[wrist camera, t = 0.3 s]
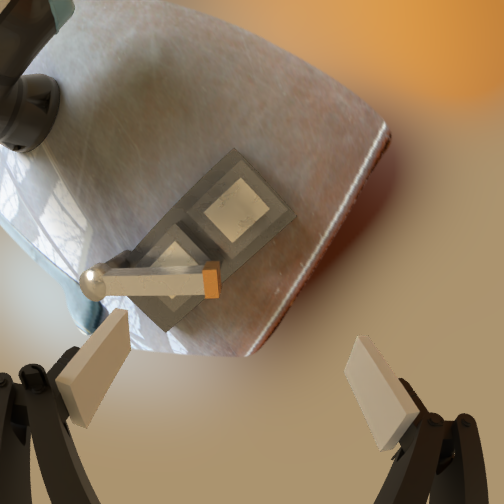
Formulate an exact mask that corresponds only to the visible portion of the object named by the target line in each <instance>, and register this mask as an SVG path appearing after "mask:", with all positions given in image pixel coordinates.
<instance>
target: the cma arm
mask: <svg viewBox="0 0 504 504" xmlns="http://www.w3.org/2000/svg"><path fill="white" fill-rule="evenodd" d="M80 288H81V290H82V292H83V294H84V295H85V296H86V297H87V298H88V299H90V300H92V301H100V300H102V299H103V298H104V297H105V296H169V295H205V299H206V298H219V296H220V292H221V288H222V284H221V273H220V261H207V262H206V264H205V265H196V266H171V267H144V268H115V269H112V268H111V267H110V266H108V265H107V264H104V263H98V264H96V265H94V266H92V267H91V268H89V269H88V270H86V271H84V272H83V273H82V274H81V276H80Z"/></svg>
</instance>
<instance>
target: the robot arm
mask: <svg viewBox="0 0 504 504" xmlns="http://www.w3.org/2000/svg"><path fill="white" fill-rule="evenodd" d="M74 10H75V5H74V2H73V0H0V144H2V145H3V146H5V147H7V148H8V149H10V150H12V151H15V152H28V151H31V150H33V149H34V148H36V147H37V146H38V145H39V144H40V143H41V142H42V141H43V140H44V139H45V137H46V136H47V134H48V133H49V131H50V129H51V127H52V125H53V123H54V121H55V118H56V115H57V111H58V107H59V100H60V93H59V87H58V84H57V82H56V81H55V80H54V79H53V78H51V77H49V76H47V75H44V74H30V75H22V74H23V73H24V71H25V70H26V69H27V67H28V66H29V65H30V63H31V62H32V61H33V59H34V58H35V57H36V56H37V54H38V53H39V52H40V51H41V50H42V48H43V47H44V46H45V45H46V44H47V43H48V41H49V40H50V39H51V38H52V37H53V36H54V35H56V34H57V33H58V32H59V29H60V28H61V27H62V26H63V25H64V24H65V23H66V22H67V21H68V20H69V19H70V17H71V16H72V15H73V13H74ZM130 351H131V345H130V335H129V324H128V310H123V309H118V308H115V309H114V310H113V312H112V313H111V314H110V315H109V316H108V317H107V318H106V319H105V321H104V322H103V323H102V324H101V325H100V326H99V327H98V329H97V330H96V331H95V332H94V333H93V334H92V335H91V337H90V338H89V339H88V340H87V341H86V343H85V344H84V345H83V346H82V347H81V348H79V347H75V346H74V347H72V348H70V349H68V350H67V351H66V352H65V353H64V354H63V355H62V356H61V358H60V359H59V360H58V361H57V363H55V364H54V365H53V367H52V368H51V369H50V370H49V371H48V373H47V374H46V372H45V370H44V368H43V367H42V366H41V365H38V364H28V365H26V366H24V367H22V368H21V370H20V371H19V378H20V380H21V382H22V384H17V383H14V382H13V380H12V378H11V376H10V375H9V374H7V373H0V504H32V498H31V485H30V439H31V435H32V439H33V444H34V448H35V452H36V456H37V460H38V464H39V467H40V471H41V474H42V477H43V480H44V484H45V486H46V489H47V492H48V495H49V498H50V500H51V503H52V504H101V503H100V502H99V500H98V498H97V496H96V494H95V492H94V490H93V488H92V486H91V484H90V482H89V479H88V477H87V475H86V473H85V470H84V468H83V466H82V463H81V461H80V458H79V456H78V453H77V451H76V448H75V445H74V442H73V440H72V437H71V434H70V431H69V428H68V425H67V423H66V419H67V418H68V416H70V418H71V420H72V423H74V424H76V425H79V426H81V427H84V428H86V429H87V427H88V426H89V424H90V422H91V420H92V418H93V416H94V414H95V412H96V411H97V409H98V407H99V405H100V403H101V401H102V400H103V398H104V396H105V394H106V392H107V390H108V389H109V387H110V385H111V383H112V382H113V380H114V378H115V376H116V375H117V373H118V371H119V369H120V368H121V366H122V364H123V363H124V361H125V359H126V357H127V356H128V354H129V352H130ZM344 373H345V375H346V378H347V380H348V382H349V384H350V386H351V388H352V390H353V393H354V395H355V397H356V399H357V401H358V403H359V406H360V408H361V410H362V412H363V415H364V417H365V419H366V421H367V423H368V426H369V428H370V430H371V433H372V435H373V437H374V439H375V442H376V444H377V446H378V449H379V451H380V452H382V451H386V450H391V449H393V448H394V447H395V445H396V444H397V443H398V442H399V443H400V445H401V447H400V449H399V450H398V451H397V452H396V454H395V455H394V456H393V457H392V459H391V460H393V459H394V458H395V460H394V462H393V464H392V467H391V469H390V471H389V474H388V476H387V478H386V480H385V482H384V484H383V486H382V488H381V490H380V492H379V494H378V496H377V498H376V500H375V502H374V504H426V502H427V499H428V496H429V493H430V500H429V504H489V501H488V488H487V479H486V472H485V464H484V458H483V453H482V447H481V443H480V437H479V433H478V428H477V425H476V421H475V419H474V418H473V417H472V416H471V415H469V414H465V413H463V414H460V415H458V417H457V418H456V419H455V421H444V419H443V418H442V417H441V416H440V415H438V414H436V413H429V412H428V411H427V409H426V407H425V406H424V405H423V403H422V401H421V400H420V399H419V397H418V396H417V394H416V393H415V391H413V388H412V387H411V386H410V384H409V383H408V382H407V381H405V380H404V379H403V378H397V376H396V375H395V373H394V372H393V370H392V369H391V367H390V366H389V364H388V363H387V362H386V360H385V359H384V357H383V356H382V354H381V353H380V352H379V350H378V349H377V347H376V346H375V344H374V343H373V342H372V340H371V339H370V337H369V336H364V335H362V336H361V335H357V337H356V340H355V343H354V346H353V348H352V351H351V354H350V357H349V359H348V362H347V365H346V367H345V370H344ZM454 453H455V454H454Z"/></svg>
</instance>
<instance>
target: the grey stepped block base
mask: <svg viewBox="0 0 504 504" xmlns="http://www.w3.org/2000/svg"><path fill="white" fill-rule="evenodd" d="M296 217H297V215H296V214H295V213H294V212H293V211H292V210H291V209H290V207H289V206H288V205H287V204H286V203H285V202H284V201H283V200H282V198H281V197H280V196H279V195H278V194H277V193H276V192H275V191H274V190H273V189H272V187H271V186H270V185H269V184H268V183H267V182H266V181H265V180H264V179H263V178H262V177H261V175H260V174H259V173H258V172H257V171H256V170H255V169H254V168H253V167H252V166H251V165H250V164H249V163H248V162H247V161H246V160H245V158H244V157H243V156H242V155H241V154H240V153H239V152H238V151H237V150H236V149H235V148H234V149H233V150H231V151H230V152H229V153H228V154H227V155H226V156H225V157H224V158H223V159H222V160H220V161H219V162H218V163H217V164H216V165H215V166H214V167H213V168H212V169H211V170H210V171H209V172H208V173H207V174H206V175H205V176H204V177H202V178H201V179H200V180H199V181H198V182H197V183H196V184H195V185H194V186H193V187H192V188H191V189H190V190H189V191H188V192H187V193H186V194H185V195H184V196H183V197H182V198H181V199H180V200H179V201H178V202H177V203H176V204H175V205H174V206H173V208H172V209H171V210H170V211H169V212H168V213H167V214H166V215H165V216H164V217H163V218H162V219H161V220H160V221H159V222H158V223H157V224H156V226H155V227H154V228H153V229H152V230H151V231H150V232H149V233H148V234H147V235H146V236H145V238H144V239H143V240H142V241H141V242H140V243H139V244H138V245H137V247H136V248H135V249H134V250H133V251H132V252H131V251H129V250H126V251H123V252H122V253H120V254H118V255H117V256H115V257H114V258H112V259H111V260H109V261H107V262H106V263H104V264H107V265H108V266H110V267H111V268H112V269H115V268H144V267H171V266H196V265H205V264H206V262H207V261H220V273H221V284H222V283H223V282H224V281H225V280H226V279H227V278H228V277H229V276H231V275H232V274H233V273H234V272H235V271H236V270H237V269H238V268H240V267H241V266H242V265H243V264H244V263H245V262H246V261H247V260H249V259H250V258H251V257H252V256H253V255H254V254H255V253H256V252H258V251H259V250H260V249H261V248H262V247H263V246H264V245H265V244H266V243H268V242H269V241H270V240H271V239H272V238H273V237H274V236H275V235H277V234H278V233H279V232H280V231H281V230H282V229H283V228H284V227H286V226H287V225H288V224H289V223H290V222H291V221H292V220H293V219H294V218H296ZM128 297H129V298H130V299H131V300H132V301H133V302H134V303H135V304H136V305H137V306H138V307H139V308H140V309H141V310H142V311H143V312H144V313H145V314H146V315H147V316H148V317H149V318H150V319H151V320H152V321H153V322H154V323H155V324H156V325H158V326H159V327H160V328H161V329H162V330H163V331H164V332H165V333H166V332H167V331H169V330H170V329H171V328H172V327H173V326H174V325H175V324H176V323H178V322H179V321H180V320H181V319H182V318H183V317H184V316H185V315H187V314H188V313H189V312H190V311H191V310H192V309H193V308H195V307H196V306H197V305H198V304H199V303H200V302H201V301H202V300H204V299H205V295H169V296H128Z"/></svg>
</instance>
